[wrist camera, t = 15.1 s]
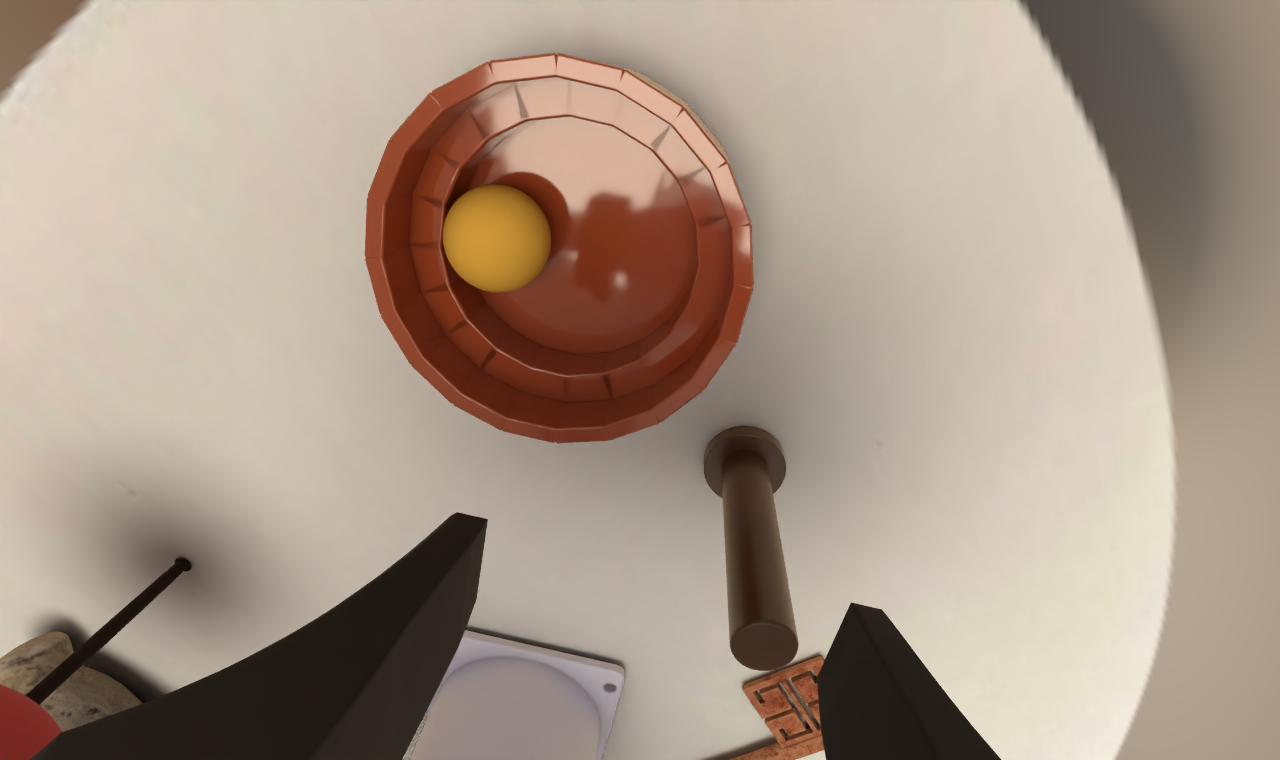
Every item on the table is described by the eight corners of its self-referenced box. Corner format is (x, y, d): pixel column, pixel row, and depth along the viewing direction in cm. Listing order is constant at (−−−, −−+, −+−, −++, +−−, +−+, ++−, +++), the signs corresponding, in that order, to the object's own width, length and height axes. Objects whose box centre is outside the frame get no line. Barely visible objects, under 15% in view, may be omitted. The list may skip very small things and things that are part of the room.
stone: (33, 610, 31) (-78, 797, 28) (-9, 638, 26) (-146, 865, 24) (256, 664, 35) (175, 832, 32) (254, 697, 30) (159, 896, 28)
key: (833, 643, 27) (536, 757, 31) (836, 660, 26) (531, 774, 30) (896, 744, 28) (603, 840, 32) (902, 763, 27) (600, 859, 31)
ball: (560, 292, 20) (512, 316, 18) (475, 267, 21) (416, 285, 18) (575, 194, 19) (526, 203, 17) (485, 170, 20) (424, 175, 17)
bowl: (698, 414, 23) (697, 476, 19) (413, 348, 23) (358, 398, 19) (786, 106, 19) (806, 111, 15) (437, 24, 19) (372, 9, 15)
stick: (787, 490, 24) (828, 687, 16) (709, 498, 24) (712, 693, 16) (780, 421, 23) (821, 596, 15) (699, 430, 23) (697, 605, 15)
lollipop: (308, 601, 28) (-69, 1097, 14) (177, 650, 30) (-270, 1129, 16) (189, 455, 25) (-412, 888, 12) (53, 518, 27) (-602, 955, 14)
